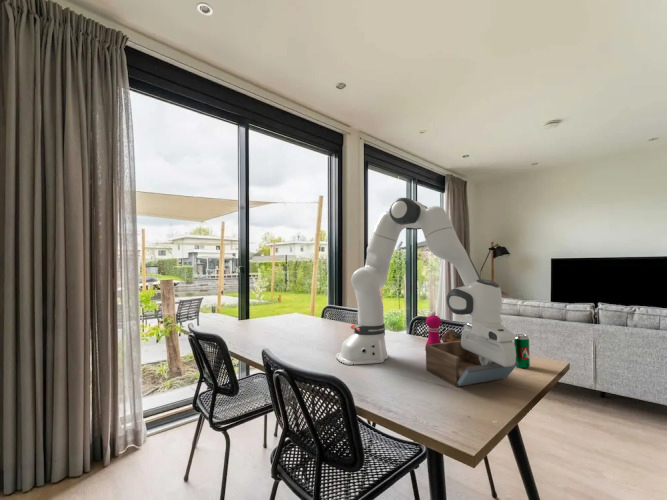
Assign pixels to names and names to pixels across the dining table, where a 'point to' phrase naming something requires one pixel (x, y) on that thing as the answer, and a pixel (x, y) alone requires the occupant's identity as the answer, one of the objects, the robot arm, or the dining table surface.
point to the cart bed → (450, 361)
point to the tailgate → (485, 373)
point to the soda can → (522, 351)
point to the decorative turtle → (451, 336)
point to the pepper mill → (433, 329)
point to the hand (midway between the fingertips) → (485, 370)
